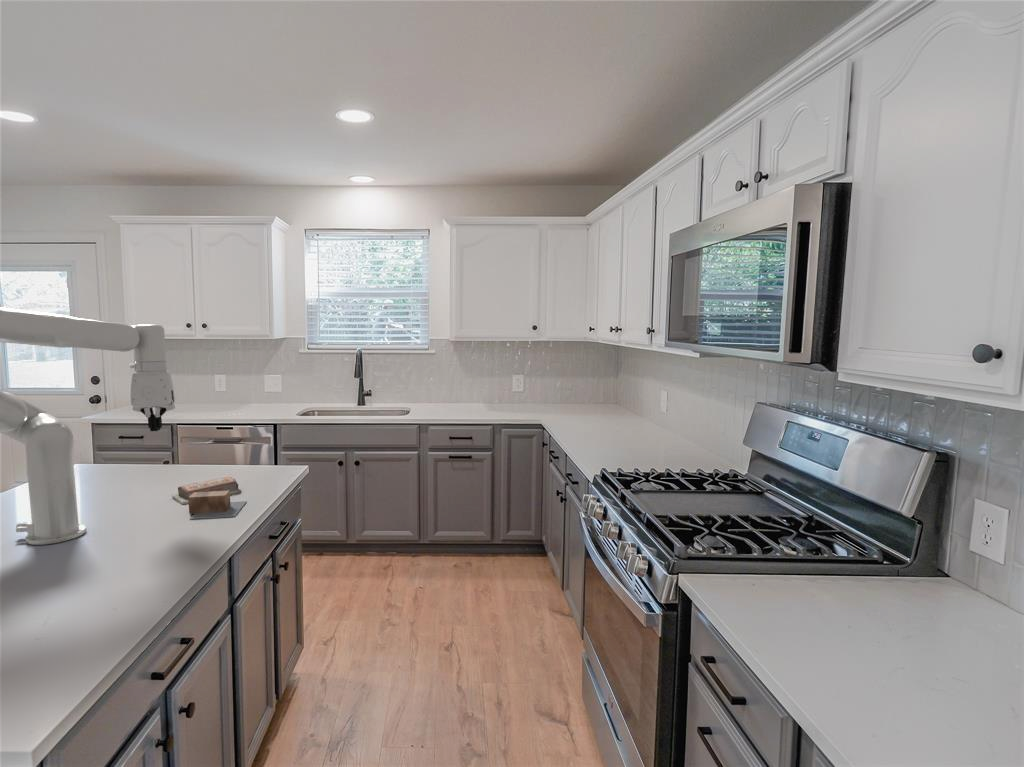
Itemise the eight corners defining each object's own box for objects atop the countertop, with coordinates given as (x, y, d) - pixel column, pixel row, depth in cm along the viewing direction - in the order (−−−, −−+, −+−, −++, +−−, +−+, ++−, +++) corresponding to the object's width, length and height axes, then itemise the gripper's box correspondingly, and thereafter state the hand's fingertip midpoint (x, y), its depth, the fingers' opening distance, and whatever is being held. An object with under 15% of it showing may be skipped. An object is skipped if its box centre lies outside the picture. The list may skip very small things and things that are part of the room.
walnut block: (188, 497, 168) (225, 495, 170) (194, 492, 173) (229, 490, 175) (189, 513, 168) (226, 511, 170) (194, 508, 173) (230, 506, 175)
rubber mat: (189, 519, 164) (189, 518, 164) (205, 504, 178) (205, 503, 178) (234, 516, 167) (234, 515, 167) (246, 502, 180) (246, 501, 180)
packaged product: (228, 474, 197) (241, 479, 190) (229, 487, 197) (241, 493, 191) (170, 484, 184) (181, 491, 177) (171, 499, 184) (182, 506, 178)
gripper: (116, 368, 159) (120, 433, 161) (175, 368, 162) (179, 432, 164) (128, 366, 166) (132, 429, 168) (184, 366, 169) (188, 427, 171)
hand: (155, 430), depth 166 cm, fingers closed
